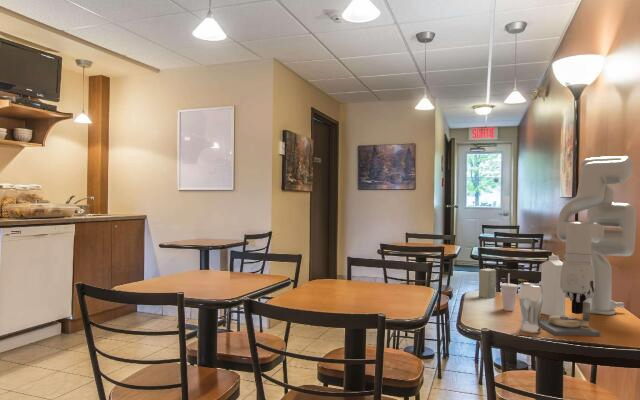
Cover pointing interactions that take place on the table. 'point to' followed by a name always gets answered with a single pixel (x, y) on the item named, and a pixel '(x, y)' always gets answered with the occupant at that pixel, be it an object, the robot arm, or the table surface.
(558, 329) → the board
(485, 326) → the table surface
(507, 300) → the smoothie
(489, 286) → the skincare box
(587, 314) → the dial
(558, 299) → the milk
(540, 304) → the beer glass
